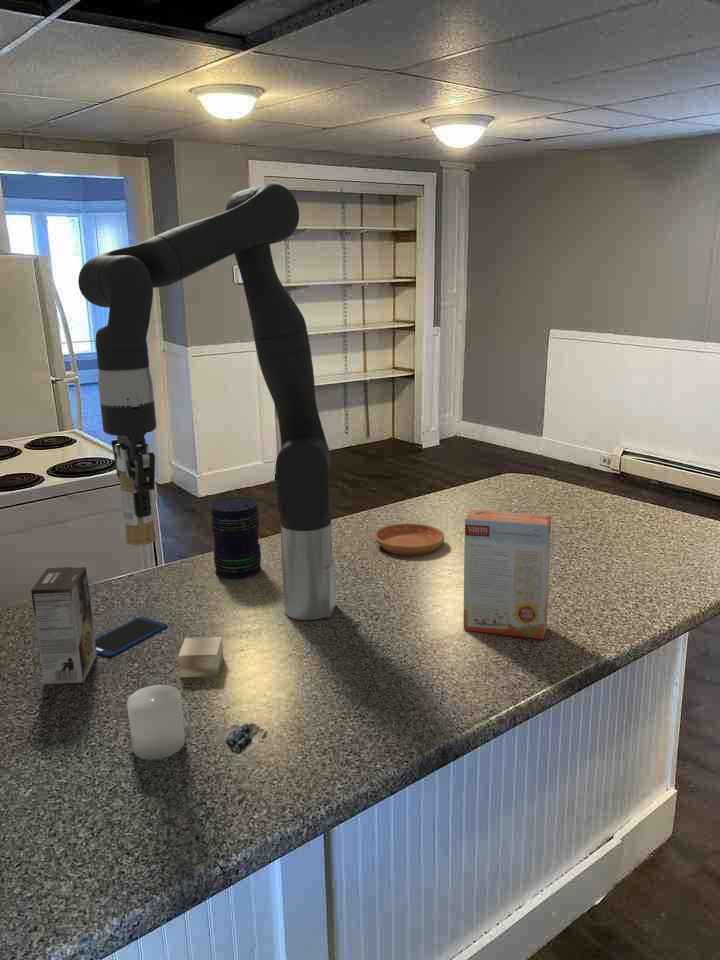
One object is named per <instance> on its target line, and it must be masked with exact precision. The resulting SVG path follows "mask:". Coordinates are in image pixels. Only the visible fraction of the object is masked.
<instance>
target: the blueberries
mask: <svg viewBox="0 0 720 960" xmlns="http://www.w3.org/2000/svg"><path fill="white" fill-rule="evenodd" d="M267 733H268V731H267V730H266V729H264V728H261V727H260V726H258V725H257V724H256V723H253V722H252V723H250V724H248V723H245V724H242V725H241V726H240V725H238V724H235V723H234V724H233V725H230V728H228V729H227V730H226V731H225V732H224V733H222V734H223V735H222V736H221V737H220V740H222V742H223V743H225V744H226V745H227V747H228V748H230V752H232V753H235V754H241V753H242V752H243V750H244V748H246V747H247V746H249V744H251V742H252V741H253V738H254V737H255V736H257V735H258V742H257V747H259V743H260V742H263V741H264V738H267V736H268V734H267Z"/></svg>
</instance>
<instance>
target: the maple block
mask: <svg viewBox="0 0 720 960" xmlns="http://www.w3.org/2000/svg"><path fill="white" fill-rule="evenodd" d="M181 645H182V646H181V647H180V650H179V653H178V655H177V657H178V666H179V678H201V677H202V678H208V677H210V678H211V677H219V676H220V671H221V668H222V665H223V661H224V649H223V636H210V637H209V636H208V637H185V638H184V640H183V643H182V644H181Z"/></svg>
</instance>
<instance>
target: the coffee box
mask: <svg viewBox="0 0 720 960" xmlns="http://www.w3.org/2000/svg"><path fill="white" fill-rule="evenodd" d="M89 589H90V588H89V581H88V574H87V567H86V566H80V567H79V566H78V567H70V566H68V567H65V566H63V567H49V568H46V569H45V570H44V572H43V574H41V576H40V577H39V579H38V580H37V582H36V583H35V584H34V586H33V587H32V588H31V590H30V593H31V600H32V609H33V614H34V620H35V621H34V623H35V627H36V635H37V641H38V642H37V643H38V650H39V656H40V665H41V672H42V678H43V684H44V685H56V684H58V685H59V684H75V683H76V684H77V683H84V682H85V680H86V679H87V676H88V674H89V672H90V669H91V667H92V666H93V665H94V662H95V660H96V658H97V656H98V655H97V651H96V643H95V639H96V637H95V631H94V622H93V621H94V620H93V613H92V605H91V596H90V590H89Z"/></svg>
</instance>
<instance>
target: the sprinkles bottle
mask: <svg viewBox="0 0 720 960" xmlns="http://www.w3.org/2000/svg"><path fill="white" fill-rule="evenodd" d="M130 467H131V466H130ZM117 469H118V470H119V471H118V472H119V476H120V478H119V482H120V495H121V496H120V497H121V506H122V513H123V521H124V526H125V535H126V536H125V542H126V544H128V545H129V546H135V547H136V546H137V547H138V546H146V545H149V544H152V543H154V542H155V541H156V539H157V535H156V531H155V521H154V517H155V516H154V515H155V514H154V508H153V501H152V490H151V491H149V495H150V505H151V515H150V516H146V517H140V518H139V517H137V516H136V515H135V508H134V498H133V491H132V485H131V479H130V478H128V477H127V476H126V471H125V463H124V460H123V459H122V458H121V456H118V457H117ZM131 470H132V471H133V472H135V468H131ZM141 483H145V481H144V478H142V479H141Z"/></svg>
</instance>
